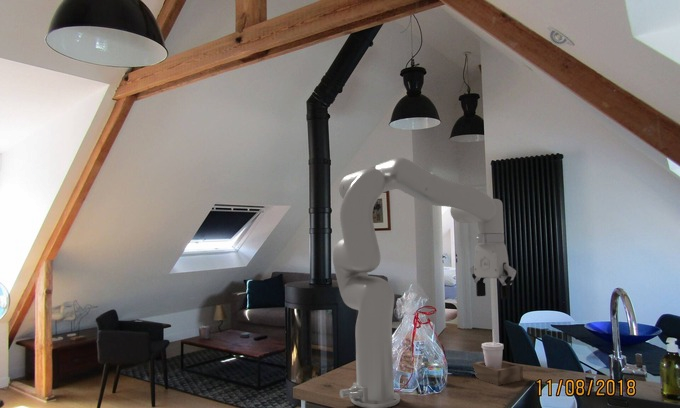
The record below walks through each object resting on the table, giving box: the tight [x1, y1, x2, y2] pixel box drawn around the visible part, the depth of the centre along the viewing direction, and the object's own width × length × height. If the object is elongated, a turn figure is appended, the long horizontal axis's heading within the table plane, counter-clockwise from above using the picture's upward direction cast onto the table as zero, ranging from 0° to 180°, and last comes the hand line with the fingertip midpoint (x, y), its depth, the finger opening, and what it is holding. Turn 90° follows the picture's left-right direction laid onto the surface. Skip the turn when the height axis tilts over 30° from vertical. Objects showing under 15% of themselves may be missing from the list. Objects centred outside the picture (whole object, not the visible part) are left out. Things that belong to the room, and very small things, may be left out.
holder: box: [471, 360, 524, 386], centre depth 138 cm, size 10×10×4 cm
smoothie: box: [481, 328, 505, 369], centre depth 140 cm, size 6×6×14 cm
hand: (493, 297), depth 140 cm, fingers open, 9 cm apart
